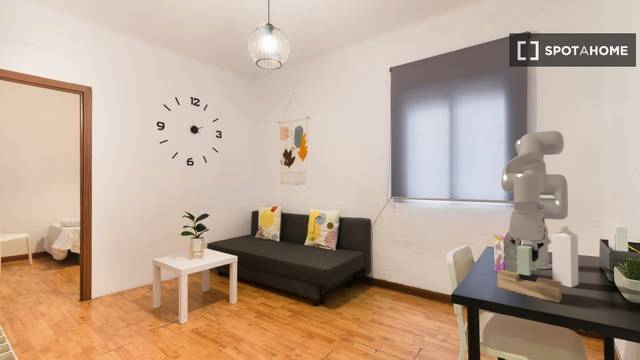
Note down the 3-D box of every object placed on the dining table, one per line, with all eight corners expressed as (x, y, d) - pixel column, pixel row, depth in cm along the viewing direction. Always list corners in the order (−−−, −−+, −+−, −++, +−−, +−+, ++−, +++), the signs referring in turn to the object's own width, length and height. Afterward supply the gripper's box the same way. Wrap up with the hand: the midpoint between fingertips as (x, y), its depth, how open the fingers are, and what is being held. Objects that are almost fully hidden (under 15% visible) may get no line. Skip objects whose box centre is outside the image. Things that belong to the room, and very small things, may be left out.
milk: (578, 284, 111) (578, 227, 111) (571, 287, 108) (571, 228, 108) (559, 280, 117) (559, 225, 117) (551, 282, 114) (551, 226, 114)
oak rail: (500, 285, 111) (500, 269, 111) (561, 299, 97) (561, 281, 98) (497, 287, 109) (497, 271, 109) (559, 302, 95) (558, 284, 95)
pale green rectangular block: (525, 267, 108) (525, 242, 108) (537, 269, 105) (537, 244, 105) (516, 273, 101) (516, 247, 101) (528, 275, 98) (528, 248, 98)
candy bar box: (493, 270, 129) (493, 233, 129) (505, 271, 128) (505, 234, 128) (503, 279, 118) (503, 238, 118) (517, 279, 117) (517, 239, 117)
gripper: (558, 208, 99) (559, 262, 99) (503, 205, 112) (504, 253, 112) (553, 209, 94) (554, 266, 94) (496, 206, 107) (497, 257, 107)
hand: (527, 259), depth 103 cm, fingers closed on pale green rectangular block, 3 cm apart
